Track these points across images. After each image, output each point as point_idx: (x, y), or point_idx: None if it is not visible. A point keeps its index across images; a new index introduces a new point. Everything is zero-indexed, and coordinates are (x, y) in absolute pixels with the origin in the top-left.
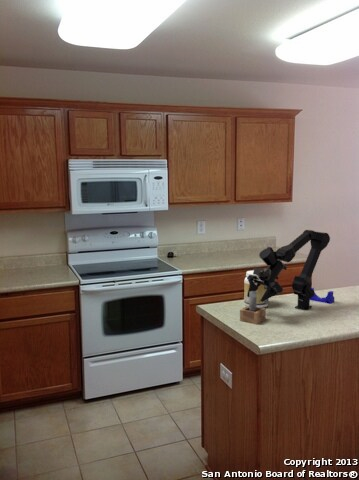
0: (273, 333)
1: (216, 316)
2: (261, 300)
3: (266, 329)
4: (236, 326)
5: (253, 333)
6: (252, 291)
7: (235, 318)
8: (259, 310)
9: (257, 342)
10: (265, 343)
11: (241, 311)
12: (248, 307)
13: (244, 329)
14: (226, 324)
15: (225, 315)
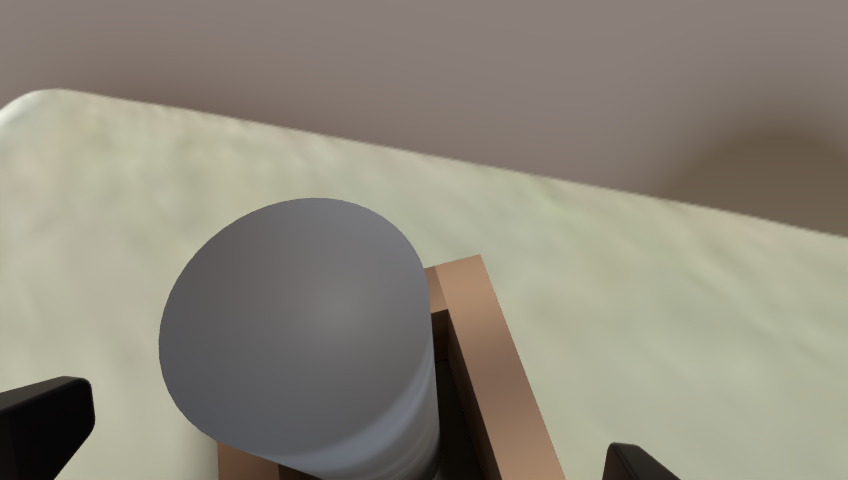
0: (13, 307)
1: (723, 226)
2: (57, 384)
3: (113, 336)
4: (380, 192)
5: (173, 188)
6: (364, 358)
7: (564, 330)
8: (257, 468)
9: (71, 108)
10: (13, 130)
11: (457, 267)
12: (500, 446)
13: (283, 194)
14: (474, 164)
15: (714, 315)
